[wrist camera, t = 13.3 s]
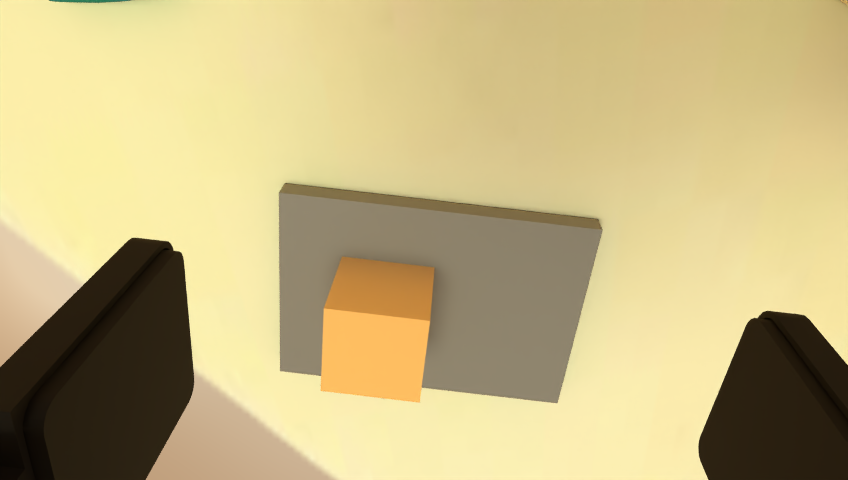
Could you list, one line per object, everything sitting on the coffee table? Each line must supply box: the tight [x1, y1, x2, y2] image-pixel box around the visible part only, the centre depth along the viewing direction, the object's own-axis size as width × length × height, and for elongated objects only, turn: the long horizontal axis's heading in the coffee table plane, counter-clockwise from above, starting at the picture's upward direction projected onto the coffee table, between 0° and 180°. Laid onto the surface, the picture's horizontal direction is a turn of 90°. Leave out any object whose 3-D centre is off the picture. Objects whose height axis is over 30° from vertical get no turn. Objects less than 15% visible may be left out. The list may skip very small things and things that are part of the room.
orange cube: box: [321, 257, 435, 402], centre depth 40 cm, size 6×6×6 cm
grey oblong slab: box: [279, 183, 602, 403], centre depth 43 cm, size 20×14×2 cm
